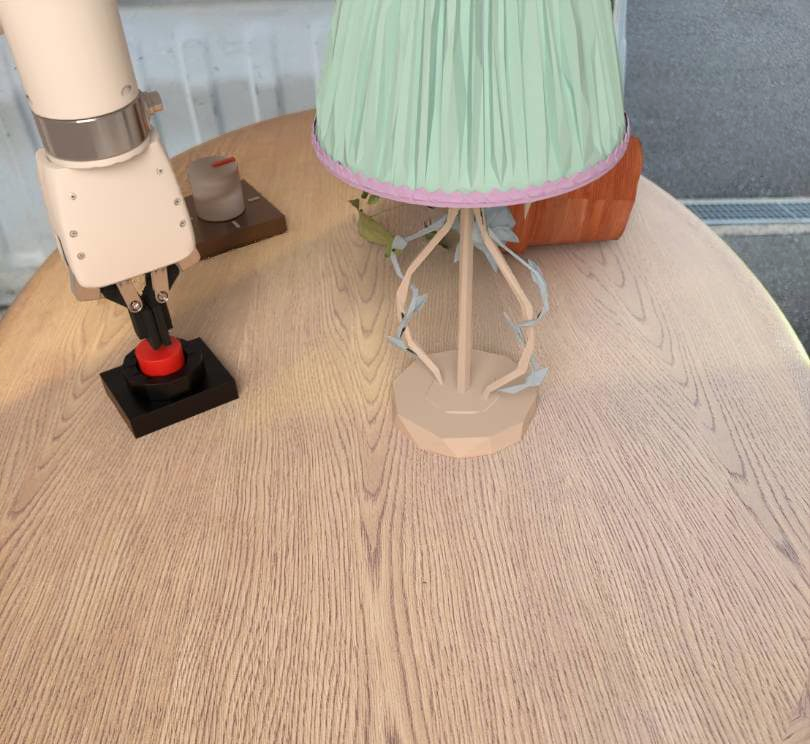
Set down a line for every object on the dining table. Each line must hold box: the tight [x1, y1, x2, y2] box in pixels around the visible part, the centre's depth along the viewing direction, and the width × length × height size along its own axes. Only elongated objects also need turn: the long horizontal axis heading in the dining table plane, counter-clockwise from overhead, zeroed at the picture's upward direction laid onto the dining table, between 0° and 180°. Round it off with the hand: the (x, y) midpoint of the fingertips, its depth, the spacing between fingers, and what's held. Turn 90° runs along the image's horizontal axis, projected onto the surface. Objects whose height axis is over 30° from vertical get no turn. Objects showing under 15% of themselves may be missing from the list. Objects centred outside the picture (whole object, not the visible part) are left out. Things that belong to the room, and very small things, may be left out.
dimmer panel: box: [183, 178, 288, 261], centre depth 101 cm, size 11×11×2 cm
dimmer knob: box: [186, 155, 245, 222], centre depth 98 cm, size 6×6×5 cm
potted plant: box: [348, 135, 644, 258], centre depth 91 cm, size 16×15×35 cm
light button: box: [135, 334, 185, 376], centre depth 77 cm, size 4×4×2 cm
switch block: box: [99, 336, 240, 440], centre depth 79 cm, size 10×8×4 cm
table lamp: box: [310, 0, 632, 460], centre depth 63 cm, size 22×22×40 cm
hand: (157, 339), depth 76 cm, fingers closed
